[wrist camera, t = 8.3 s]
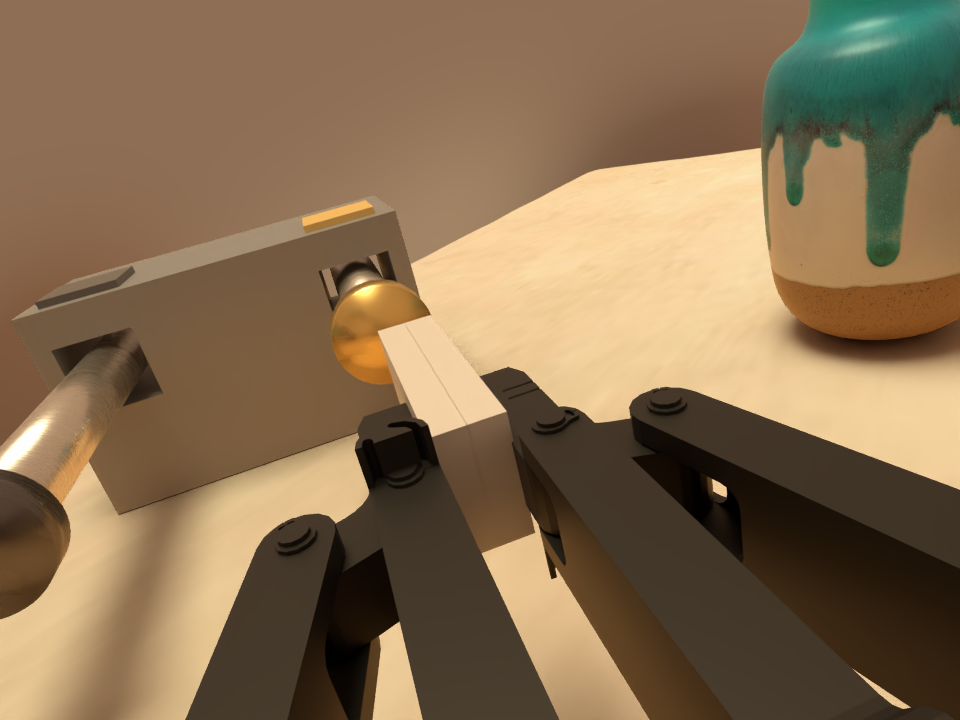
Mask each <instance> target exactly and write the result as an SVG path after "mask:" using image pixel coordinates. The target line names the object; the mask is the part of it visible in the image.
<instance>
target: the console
mask: <svg viewBox="0 0 960 720" xmlns="http://www.w3.org/2000/svg"><path fill="white" fill-rule="evenodd" d="M375 254H376V256H377V259H378V262H379V265H380V269H381V272H382V275H383V279H386V280H392V281H395V282H399V283H401V284H403V285H405V286H407V287H408V288H410V289H411V290H412V291H413V292H415V293H416V295H417V296H418V297H419V298H420V296H419V292H418V289H417V285H416V282H415V278H414V275H413V271H412V268H411V264H410V261H409V258H408V254H407V250H406V247H405V244H404V240H403V237H402V233H401V230H400V226H399V223H398V219H397V216H396V212H395V210H393V209H392V208H391V207H389V206H388V205H386V204H385V203H383V202H382V201H380V200H379V199H377V198H376V197H374V196H370V197H366V198H363V199H359V200H356V201H352V202H349V203H345V204H342V205H338V206H334V207H331V208H327V209H324V210H320V211H317V212H313V213H309V214H306V215H303V216H299V217H295V218H292V219H288V220H285V221H281V222H278V223H274V224H270V225H267V226H263V227H260V228H256V229H252V230H249V231H245V232H242V233H239V234H235V235H231V236H227V237H224V238H220V239H217V240H213V241H210V242H206V243H202V244H199V245H196V246H192V247H188V248H185V249H181V250H178V251H174V252H170V253H167V254H163V255H160V256H156V257H153V258H149V259H146V260H142V261H138V262H135V263H131V264H128V265H124V266H120V267H117V268H113V269H110V270H106V271H103V272H99V273H95V274H92V275H88V276H85V277H81V278H78V279H74V280H72V281H70V282H69V283H67V284H65V285H62V286H59V287H58V288H56V289H55V290H53V291H52V292H50V293H49V294H47V295H46V296H44V297H42V298H41V299H40V300H38V301H36V302H35V305H33V306H32V307H30V308H29V309H27V310H26V311H24V312H23V313H21V314H20V315H18V316H17V317H15V318H14V319H12V320H11V323H12V325H13V326H14V329H15V330H16V332H17V334H18V336H19V337H20V339H21V341H22V343H23V345H24V346H25V348H26V350H27V352H28V354H29V355H30V357H31V359H32V361H33V362H34V364H35V366H36V368H37V370H38V371H39V373H40V375H41V377H42V379H43V380H44V382H45V384H46V386H47V388H48V389H49V391H50V393H51V392H52V391H53V390H54V389H55V388H56V387H57V386H58V384H59V383H60V382H61V381H62V380H63V379H64V378H65V377H66V376H67V375H68V374H69V373H70V372H71V371H72V370H73V368H74V367H75V366H76V365H77V364H78V363H79V362H80V361H81V360H82V359H83V358H84V357H85V356H86V355H87V353H88V352H89V351H90V350H91V349H92V348H93V347H94V346H95V345H96V344H97V343H98V342H99V341H100V340H101V338H102V337H103V336H104V335H106V334H109V333H112V332H116V331H119V330H122V329H126V328H129V327H132V329H133V331H134V334H135V336H136V338H137V340H138V342H139V344H140V346H141V348H142V350H143V352H144V354H145V356H146V358H147V361H148V363H149V364H148V366H147V367H146V369H145V371H144V372H143V374H142V375H141V377H140V379H139V380H138V382H137V384H136V385H135V387H134V388H133V390H132V392H131V393H130V395H129V396H128V398H127V400H126V401H125V403H124V404H123V406H122V408H121V409H120V411H119V413H118V414H117V416H116V417H115V419H114V421H113V422H112V424H111V425H110V427H109V429H108V430H107V432H106V434H105V435H104V437H103V438H102V440H101V442H100V443H99V445H98V446H97V448H96V450H95V451H94V453H93V454H92V456H91V458H90V459H89V463H90V464H91V466H92V468H93V470H94V472H95V473H96V475H97V477H98V479H99V481H100V482H101V484H102V486H103V488H104V489H105V491H106V493H107V495H108V497H109V498H110V500H111V502H112V504H113V506H114V507H115V509H116V511H117V513H118V514H121V513H124V512H127V511H130V510H133V509H135V508H138V507H141V506H144V505H147V504H150V503H153V502H156V501H159V500H162V499H164V498H167V497H170V496H173V495H176V494H179V493H182V492H185V491H188V490H190V489H193V488H196V487H199V486H202V485H205V484H208V483H211V482H214V481H217V480H219V479H222V478H225V477H228V476H231V475H234V474H237V473H240V472H243V471H246V470H248V469H251V468H254V467H257V466H260V465H263V464H266V463H269V462H272V461H275V460H277V459H280V458H283V457H286V456H289V455H292V454H295V453H298V452H301V451H304V450H306V449H309V448H312V447H315V446H318V445H321V444H324V443H327V442H330V441H333V440H335V439H338V438H341V437H344V436H347V435H350V434H353V433H356V432H358V430H357V429H358V427H359V425H360V423H361V421H362V419H363V417H364V416H367V415H370V414H373V413H376V412H379V411H382V410H385V409H388V408H391V407H394V406H397V405H400V403H399V400H398V396H397V393H396V390H395V387H394V383H391V384H372V383H368V382H364V381H362V380H359V379H358V378H356V377H354V376H353V375H351V374H350V373H349V372H347V371H346V370H345V369H344V368H343V366H342V365H341V364H340V362H339V361H338V359H337V357H336V355H335V352H334V349H333V345H332V340H331V334H330V322H331V317H332V313H333V310H334V308H335V306H336V304H337V303H338V301H339V300H340V299H339V296H335V297H330V294H329V291H328V289H327V286H326V282H325V280H324V277H323V274H322V271H321V270H324V269H327V268H331V267H334V266H338V265H341V264H345V263H348V262H351V261H355V260H358V259H361V258H365V257H368V256H372V255H375Z"/></svg>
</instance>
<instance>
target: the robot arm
mask: <svg viewBox="0 0 960 720" xmlns="http://www.w3.org/2000/svg"><path fill="white" fill-rule="evenodd" d="M378 334H379V338H380V341H381V344H382V348H383V351H384V354H385V357H386V361H387V364H388V367H389V370H390V374H391V377H392V380H393V383H394V387H395V390H396V393H397V396H398V400H399V403H400V405H397V406H394V407H391V408H388V409H385V410H382V411H379V412H376V413H373V414H370V415H367V416H364V417H363V419H362V421H361V423H360V425H359V427H358V429H357V430H358V435H359V439H358V441H357V442H356V446H355V452H356V455H357V457H358V460H359V463H360V466H361V469H362V472H363V475H364V477H365V480H366V483H367V486H368V489H369V496H368V498H367V499H366V501H365V502H364V503H363V505H362V506H361V507H359V508H358V509H357V510H356V511H355V512H354V513H352V514H351V515H349V516H348V517H346V518H345V519H343V520H341V521H340V522H338V523H336V524H335V522H334V521H333V520H332V519H331V518H330V517H329V516H326V515H322V514H309V515H303V516H300V517H297V518H292V519H290V520H288V521H285V523H282V524H280V525H279V526H277V527H276V528H275V529H273V530H272V531H271V532H270V533H269V534H268V535H266V536H265V537H264V538H263V540H262V541H261V543H260V544H259V546H258V547H257V549H256V552H255V554H254V556H253V559H252V561H251V564H250V566H249V568H248V571H247V573H246V576H245V578H244V580H243V583H242V585H241V588H240V590H239V592H238V595H237V597H236V599H235V602H234V604H233V607H232V609H231V611H230V614H229V616H228V619H227V621H226V623H225V626H224V628H223V631H222V633H221V635H220V638H219V640H218V643H217V645H216V647H215V650H214V652H213V655H212V657H211V659H210V662H209V664H208V667H207V669H206V671H205V674H204V676H203V679H202V681H201V683H200V686H199V688H198V691H197V693H196V695H195V698H194V700H193V703H192V705H191V707H190V710H189V712H188V715H187V717H186V719H185V720H372V718H373V709H374V701H375V692H376V684H377V676H378V667H379V659H380V651H381V647H380V639H379V635H381V634H382V633H384V632H385V631H386V630H388V629H389V628H391V627H392V626H394V625H395V624H396V623H398V622H399V621H400V625H401V629H402V633H403V637H404V642H405V646H406V650H407V654H408V659H409V663H410V667H411V671H412V676H413V680H414V684H415V688H416V693H417V697H418V701H419V705H420V710H421V714H422V718H423V720H559V718H558V716H557V714H556V712H555V710H554V708H553V705H552V703H551V701H550V699H549V697H548V695H547V693H546V691H545V688H544V686H543V684H542V682H541V680H540V678H539V676H538V673H537V671H536V669H535V667H534V665H533V663H532V661H531V658H530V656H529V654H528V652H527V650H526V648H525V646H524V643H523V641H522V639H521V637H520V635H519V633H518V631H517V628H516V626H515V624H514V622H513V620H512V618H511V616H510V613H509V611H508V609H507V607H506V605H505V603H504V601H503V599H502V596H501V594H500V592H499V590H498V588H497V586H496V584H495V581H494V579H493V577H492V575H491V573H490V571H489V569H488V566H487V564H486V562H485V560H484V558H483V556H482V554H481V553H483V552H486V551H488V550H491V549H494V548H496V547H499V546H502V545H504V544H507V543H509V542H512V541H515V540H517V539H520V538H523V537H525V536H528V535H530V534H533V533H535V530H534V526H533V522H532V518H531V513H532V515H533V516H534V518H535V520H536V521H537V523H538V524H539V528H540V533H541V537H542V541H543V546H544V550H545V554H546V559H547V563H548V568H549V572H550V575H551V579H554V578H556V577H557V575H556V571H555V568H557V569H558V571H559V573H560V574H561V576H562V577H563V579H564V581H565V582H566V584H567V586H568V587H569V589H570V590H571V592H572V594H573V595H574V597H575V599H576V600H577V602H578V603H579V605H580V607H581V608H582V610H583V612H584V613H585V615H586V617H587V618H588V620H589V621H590V623H591V625H592V626H593V628H594V630H595V631H596V633H597V634H598V636H599V638H600V639H601V641H602V643H603V644H604V646H605V647H606V649H607V651H608V652H609V654H610V656H611V657H612V659H613V660H614V662H615V664H616V665H617V667H618V669H619V670H620V672H621V674H622V675H623V677H624V678H625V680H626V682H627V683H628V685H629V687H630V688H631V690H632V691H633V693H634V695H635V696H636V698H637V700H638V701H639V703H640V704H641V706H642V708H643V709H644V711H645V713H646V714H647V716H648V717H649V719H650V720H960V490H959V489H956V488H954V487H951V486H948V485H945V484H943V483H940V482H937V481H935V480H932V479H929V478H927V477H924V476H921V475H918V474H916V473H913V472H910V471H908V470H905V469H902V468H900V467H897V466H894V465H892V464H889V463H886V462H883V461H881V460H878V459H875V458H873V457H870V456H867V455H865V454H862V453H859V452H857V451H854V450H851V449H848V448H846V447H843V446H840V445H838V444H835V443H832V442H830V441H827V440H824V439H821V438H819V437H816V436H813V435H811V434H808V433H805V432H803V431H800V430H797V429H795V428H792V427H789V426H786V425H784V424H781V423H778V422H776V421H773V420H770V419H768V418H765V417H762V416H760V415H757V414H754V413H751V412H749V411H746V410H743V409H741V408H738V407H735V406H733V405H730V404H727V403H725V402H722V401H719V400H716V399H714V398H711V397H708V396H706V395H703V394H700V393H698V392H695V391H692V390H688V389H683V388H670V387H662V388H660V389H659V388H657V389H653V390H651V391H648V392H646V393H643V394H641V395H639V396H638V397H637V398H635V399H634V400H633V401H632V403H631V405H630V407H629V409H630V416H631V419H624V420H618V421H612V422H603V423H594V422H593V421H592V420H591V419H590V418H589V417H588V416H587V415H586V414H585V413H583V412H581V411H580V410H578V409H576V408H571V407H565V406H563V407H558V406H557V405H556V404H555V403H554V402H553V401H552V400H551V399H550V398H549V397H548V396H547V395H546V394H545V393H544V392H543V391H542V390H541V389H540V388H539V387H538V386H537V385H536V384H535V383H534V382H533V381H532V380H531V379H530V378H529V377H528V376H527V375H526V373H525V372H523V371H519V370H516V369H513V368H510V367H507V368H504V369H501V370H498V371H495V372H492V373H489V374H486V375H483V376H480V377H479V376H478V374H477V373H476V372H475V370H474V369H473V368H472V367H471V365H470V364H469V363H468V362H467V360H466V359H465V358H464V356H463V355H462V354H461V353H460V351H459V350H458V349H457V348H456V346H455V345H454V344H453V342H452V341H451V340H450V339H449V337H448V336H447V335H446V334H445V332H444V331H443V330H442V329H441V327H440V326H439V325H438V323H437V322H436V321H435V320H434V318H433V317H432V316H431V315H429V316H426V317H422V318H419V319H416V320H413V321H409V322H406V323H403V324H400V325H396V326H393V327H390V328H387V329H383V330H380V331H378ZM712 479H714V480H716V481H718V482H720V483H721V484H723V485H724V486H725V487H727V498H726V497H723V496H721V495H719V494H717V493H715V492H713V484H712ZM530 512H531V513H530ZM852 668H853V669H854V670H856V671H857V672H859V673H860V674H862V675H863V676H865V677H866V678H868V679H869V680H871V681H872V682H874V683H875V684H877V685H878V686H880V687H881V688H883V689H884V690H886V691H887V692H889V693H890V694H892V695H893V696H895V697H896V698H898V699H899V700H901V701H902V702H904V703H905V704H907V705H908V706H910V707H911V708H907V709H901V708H899V707H897V706H894V705H892V704H891V703H889V702H888V701H887V700H886V699H884V698H883V697H882V696H880V695H879V694H878V693H877V692H876V691H875V690H874V689H873V688H872V687H871V686H870V685H869V684H868V683H867V682H866V681H865V680H864V679H863V678H861V677H860V676H859V675H858V674H857V673H856V672H855V671H854V670H853V669H852Z"/></svg>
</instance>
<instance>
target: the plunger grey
mask: <svg viewBox="0 0 960 720" xmlns="http://www.w3.org/2000/svg"><path fill="white" fill-rule="evenodd" d="M148 364H149V363H148V361H147V358H146V356H145V354H144V352H143V350H142V348H141V346H140V344H139V342H138V340H137V338H136V336H135V334H134V331H133V329H132V328H130V327H129V328H126V329H122V330H119V331H116V332H112V333H109V334H106V335H104V336H103V337H102V338H101V340H100V341H99V342H98V343H97V344H96V345H95V346H94V347H93V348H92V349H91V350H90V351H89V352H88V353H87V355H86V356H85V357H84V358H83V359H82V360H81V361H80V362H79V363H78V364H77V365H76V366H75V367H74V368H73V370H72V371H71V372H70V373H69V374H68V375H67V376H66V377H65V378H64V379H63V380H62V381H61V382H60V383H59V384H58V386H57V387H56V388H55V389H54V390H53V391H52V392H51V393H50V394H49V395H48V396H47V397H46V399H45V400H44V401H43V402H42V403H41V404H40V405H39V406H38V407H37V408H36V409H35V410H34V411H33V412H32V414H31V415H30V416H29V417H28V418H27V419H26V420H25V421H24V422H23V423H22V424H21V425H20V426H19V427H18V429H16V431H15V432H14V433H13V434H12V435H11V436H10V437H9V438H8V439H7V440H6V441H5V442H4V443H3V444H2V446H1V447H0V619H3V618H6V617H9V616H11V615H13V614H16V613H18V612H20V611H21V610H23V609H25V608H26V607H28V606H29V605H31V604H32V603H33V602H35V601H36V600H37V599H38V598H39V597H40V596H41V595H42V594H43V592H44V591H45V590H46V589H47V587H48V585H49V584H50V582H51V580H52V578H53V577H54V575H55V573H56V571H57V569H58V567H59V565H60V564H61V562H62V560H63V558H64V556H65V554H66V552H67V549H68V547H69V542H70V532H71V530H70V523H69V519H68V516H67V514H66V512H65V510H64V508H63V506H62V505H61V504H62V503H63V501H64V500H65V498H66V496H67V495H68V493H69V492H70V490H71V488H72V487H73V485H74V483H75V482H76V480H77V479H78V477H79V475H80V474H81V472H82V471H83V469H84V467H85V466H86V464H87V463H88V461H89V459H90V458H91V456H92V454H93V453H94V451H95V450H96V448H97V446H98V445H99V443H100V442H101V440H102V438H103V437H104V435H105V434H106V432H107V430H108V429H109V427H110V425H111V424H112V422H113V421H114V419H115V417H116V416H117V414H118V413H119V411H120V409H121V408H122V406H123V404H124V403H125V401H126V400H127V398H128V396H129V395H130V393H131V392H132V390H133V388H134V387H135V385H136V384H137V382H138V380H139V379H140V377H141V375H142V374H143V372H144V371H145V369H146V367H147V366H148Z"/></svg>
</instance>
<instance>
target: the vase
mask: <svg viewBox="0 0 960 720" xmlns="http://www.w3.org/2000/svg"><path fill="white" fill-rule="evenodd" d="M761 120H762V123H761V162H762V186H763V201H764V215H765V225H766V234H767V242H768V249H769V256H770V262H771V268H772V273H773V277H774V282H775V285H776V288H777V290H778V293H779V295H780V297H781V299H782V300H783V302H784V304H785V305H786V307H787V308H788V309H789V310H790V312H791V313H792V314H793V315H794V316H795V317H797V318H798V319H799V320H800V321H801V322H802V323H804V324H806V325H808V326H809V327H811V328H813V329H815V330H818V331H820V332H823V333H826V334H830V335H834V336H839V337H844V338H850V339H860V340H888V339H898V338H905V337H911V336H916V335H920V334H924V333H928V332H931V331H934V330H937V329H940V328H942V327H944V326H946V325H948V324H950V323H952V322H954V321H956V320H957V319H959V318H960V0H809V13H808V19H807V23H806V26H805V29H804V31H803V33H802V35H801V37H800V38H799V39H798V40H797V42H796V43H795V44H793V45H792V46H791V47H790V48H789V49H788V50H786V51H785V52H784V53H783V54H782V55H781V56H780V57H779V58H778V59H776V61H775V62H774V64H773V65H772V67H771V69H770V72H769V74H768V77H767V79H766V83H765V88H764V95H763V105H762V119H761Z"/></svg>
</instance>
